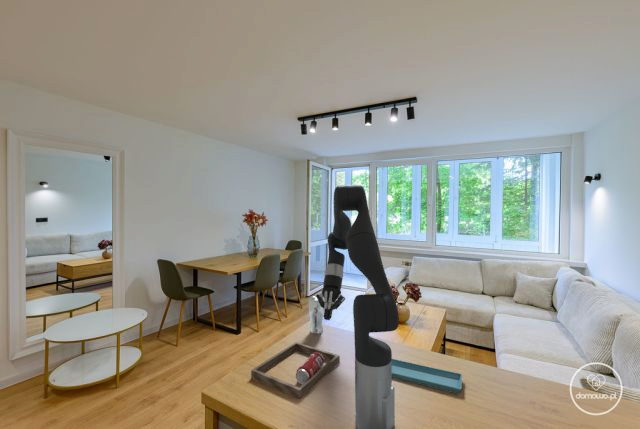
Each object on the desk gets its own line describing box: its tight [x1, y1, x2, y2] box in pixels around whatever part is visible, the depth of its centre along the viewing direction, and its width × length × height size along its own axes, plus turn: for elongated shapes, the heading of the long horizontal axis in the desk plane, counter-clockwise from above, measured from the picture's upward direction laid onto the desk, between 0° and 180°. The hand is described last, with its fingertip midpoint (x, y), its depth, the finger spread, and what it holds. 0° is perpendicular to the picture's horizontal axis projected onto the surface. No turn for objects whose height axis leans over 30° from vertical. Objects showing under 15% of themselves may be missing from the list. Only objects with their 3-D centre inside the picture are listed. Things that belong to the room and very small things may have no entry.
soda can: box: [295, 352, 325, 385], centre depth 95 cm, size 5×5×12 cm
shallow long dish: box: [392, 358, 463, 394], centre depth 94 cm, size 26×9×2 cm, turn 62°
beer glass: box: [308, 296, 324, 335], centre depth 130 cm, size 7×7×15 cm
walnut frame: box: [250, 341, 341, 400], centre depth 98 cm, size 20×24×2 cm
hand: (327, 319), depth 111 cm, fingers closed
